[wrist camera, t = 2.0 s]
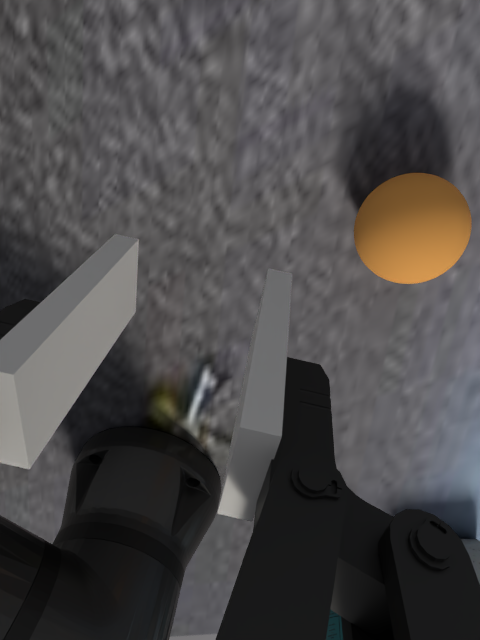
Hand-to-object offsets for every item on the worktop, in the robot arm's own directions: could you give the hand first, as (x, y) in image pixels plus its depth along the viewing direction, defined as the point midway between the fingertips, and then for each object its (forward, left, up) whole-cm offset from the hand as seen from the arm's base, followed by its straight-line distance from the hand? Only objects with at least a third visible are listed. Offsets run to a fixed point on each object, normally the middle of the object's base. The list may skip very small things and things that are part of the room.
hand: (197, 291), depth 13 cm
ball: (+9, 0, -12) cm, 15 cm away
